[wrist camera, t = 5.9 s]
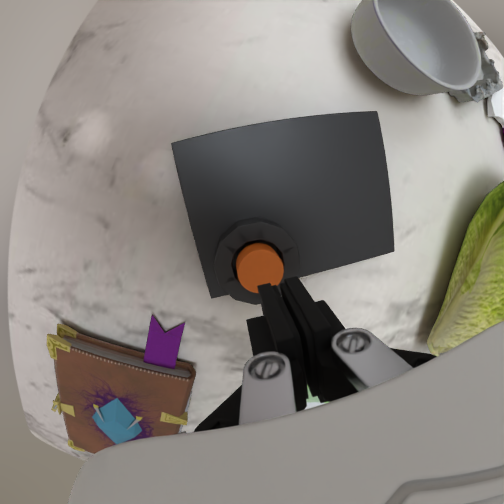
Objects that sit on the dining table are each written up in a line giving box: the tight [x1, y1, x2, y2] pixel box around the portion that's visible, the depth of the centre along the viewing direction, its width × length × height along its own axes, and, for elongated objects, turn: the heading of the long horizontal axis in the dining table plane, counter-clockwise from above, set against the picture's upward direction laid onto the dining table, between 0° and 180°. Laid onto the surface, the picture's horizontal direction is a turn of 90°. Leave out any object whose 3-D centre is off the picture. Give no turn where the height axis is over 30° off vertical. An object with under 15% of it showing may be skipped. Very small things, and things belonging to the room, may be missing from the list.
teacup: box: [351, 0, 481, 95], centre depth 15 cm, size 14×11×8 cm
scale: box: [171, 111, 394, 305], centre depth 20 cm, size 16×12×4 cm
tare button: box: [236, 243, 284, 293], centre depth 19 cm, size 3×3×2 cm
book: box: [47, 315, 196, 454], centre depth 24 cm, size 16×25×5 cm, turn 161°
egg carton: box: [448, 32, 503, 102], centre depth 18 cm, size 11×8×4 cm
